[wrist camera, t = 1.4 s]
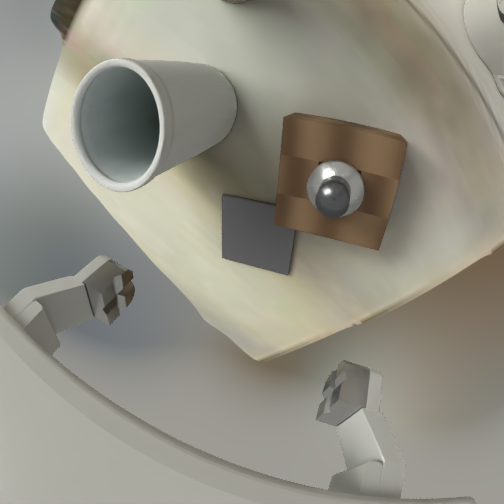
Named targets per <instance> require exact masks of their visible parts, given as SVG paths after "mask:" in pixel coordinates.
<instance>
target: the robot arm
mask: <svg viewBox="0 0 504 504" xmlns="http://www.w3.org/2000/svg"><path fill="white" fill-rule="evenodd" d="M463 15H464V23H465V27H466V31H467V34H468V36H469V39H470V41H471V43H472V45H473V47H474V48H475V50H476V52H477V53H478V55H479V56H480V58H481V59H482V60H483V62H484V63H485V64H486V65H487V67H488V68H489V69H490V71H491V72H492V74H493V77H494V80H495V82H496V85H497V87H498V90H499V91H500V93H501V94H502V95H503V96H504V0H466V1H465V4H464V11H463ZM132 279H133V272H132V271H131V270H129V269H127V268H126V267H124V266H122V265H120V264H118V263H117V262H115V261H113V260H111V259H109V258H108V257H106V256H104V255H100V256H98V257H97V258H95V259H94V260H93V261H92V262H91V263H89V264H88V265H87V266H86V267H84V268H83V269H82V270H81V271H80V272H79V273H78V274H77V275H75V276H74V277H72V276H68V277H64V278H60V279H57V280H53V281H49V282H45V283H42V284H38V285H34V286H30V287H27V288H24V289H23V290H21V291H20V292H19V293H18V294H17V295H16V296H15V297H14V298H13V299H12V300H10V301H9V302H8V303H7V304H6V305H5V306H4V307H2V306H1V305H0V504H476V502H475V500H474V499H473V498H472V497H456V498H455V497H454V498H439V499H401V498H400V497H401V492H402V486H403V480H404V473H405V462H404V460H403V458H402V455H401V453H400V451H399V448H398V446H397V444H396V441H395V439H394V437H393V435H392V432H391V430H390V428H389V426H388V424H387V421H386V419H385V417H384V414H383V413H381V412H380V401H381V389H382V372H380V371H377V370H373V369H370V368H368V367H365V366H362V365H359V364H355V363H352V362H349V361H346V360H342V361H341V362H340V363H339V364H338V368H337V370H336V371H333V372H332V373H331V374H330V375H329V377H328V379H327V381H326V383H325V386H324V389H323V393H322V394H323V397H324V399H325V400H324V401H322V402H321V403H320V405H319V409H318V413H317V417H316V420H317V421H320V422H324V423H327V424H330V425H333V426H337V427H336V429H337V433H338V436H339V440H340V444H341V447H342V451H343V455H344V458H345V463H346V466H347V470H346V471H343V472H340V473H338V474H335V475H334V476H332V479H331V482H330V486H329V489H328V490H324V489H320V488H315V487H310V486H306V485H302V484H298V483H294V482H290V481H286V480H282V479H279V478H275V477H272V476H268V475H265V474H262V473H259V472H256V471H253V470H250V469H247V468H244V467H242V466H239V465H236V464H233V463H230V462H228V461H226V460H223V459H221V458H218V457H216V456H213V455H211V454H209V453H206V452H204V451H202V450H199V449H197V448H195V447H193V446H191V445H188V444H186V443H184V442H182V441H180V440H178V439H176V438H174V437H172V436H170V435H168V434H167V433H165V432H163V431H161V430H159V429H157V428H155V427H154V426H152V425H150V424H148V423H146V422H145V421H143V420H141V419H140V418H138V417H136V416H135V415H133V414H131V413H130V412H128V411H126V410H125V409H123V408H122V407H120V406H119V405H117V404H115V403H114V402H112V401H111V400H109V399H108V398H106V397H105V396H104V395H102V394H101V393H99V392H98V391H96V390H95V389H94V388H92V387H91V386H90V385H88V384H87V383H85V382H84V381H83V380H81V379H80V378H79V377H78V376H76V375H75V374H74V373H72V372H71V371H70V370H69V369H67V368H66V367H65V366H64V365H63V364H61V363H60V362H59V361H57V359H55V358H54V357H53V356H52V355H53V353H54V352H55V351H56V350H57V349H58V348H59V347H60V341H59V339H58V338H57V336H56V334H57V333H59V332H61V331H64V330H66V329H68V328H71V327H73V326H75V325H78V324H80V323H82V322H85V321H87V320H90V319H92V318H94V317H96V318H97V319H99V320H101V321H102V322H104V323H106V324H107V325H109V326H110V325H111V324H112V323H113V322H114V321H115V320H116V318H117V317H118V316H119V315H120V309H124V308H126V307H127V306H128V305H129V304H130V303H131V301H132V299H133V297H134V293H135V287H134V285H133V283H132V281H131V280H132Z"/></svg>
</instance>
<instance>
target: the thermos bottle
mask: <svg viewBox="0 0 504 504" xmlns="http://www.w3.org/2000/svg"><path fill="white" fill-rule="evenodd" d="M222 1H225V2H228V3H241V2H245V1H248V0H222Z"/></svg>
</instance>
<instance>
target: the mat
mask: <svg viewBox="0 0 504 504" xmlns="http://www.w3.org/2000/svg"><path fill="white" fill-rule="evenodd" d="M275 208H276V204H271V203H266V202H261V201H257V200H252V199H247V198H241V197H236V196H231V195H226V194H223V195H222V258H225V259H229V260H232V261H236V262H240V263H243V264H247V265H251V266H255V267H258V268H262V269H266V270H270V271H273V272H277V273H281V274H285V275H288V274H289V268H290V262H291V256H292V250H293V243H294V237H295V229H290V228H286V227H282V226H277V225H274V218H275Z"/></svg>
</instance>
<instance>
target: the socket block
mask: <svg viewBox="0 0 504 504" xmlns="http://www.w3.org/2000/svg"><path fill="white" fill-rule="evenodd" d="M406 148H407V142H406V141H405V140H404V138H403V137H402V136H401V135H399V134H396V133H392V132H389V131H385V130H381V129H377V128H373V127H369V126H364V125H360V124H356V123H351V122H346V121H341V120H336V119H331V118H325V117H320V116H314V115H307V114H301V113H293V114H291V115H288V116H286V117H284V121H283V132H282V144H281V155H280V166H279V177H278V187H277V198H276V208H275V218H274V225H277V226H282V227H286V228H290V229H295V230H299V231H303V232H307V233H311V234H315V235H320V236H324V237H328V238H332V239H336V240H340V241H344V242H348V243H352V244H356V245H360V246H364V247H367V248H371V249H375V250H379V248H380V245H381V242H382V238H383V235H384V232H385V229H386V226H387V222H388V219H389V216H390V212H391V209H392V205H393V202H394V198H395V194H396V190H397V187H398V183H399V179H400V175H401V171H402V166H403V162H404V157H405V153H406ZM330 159H340V160H344V161H347V162H349V163H351V164H352V165H353V166H355V167H356V168H357V169H358V170H359V172H360V174H361V176H362V178H363V181H364V197H363V200H362V203H361V204H360V206H359V207H358V208H357V209H356V210H355V211H354V212H353V213H351V214H349V215H346V216H342V217H337V218H329V217H326V216H324V215H323V214H321V213H320V212H319V211H318V210H317V209H316V208H315V207H314V205H313V204H312V203H311V201H310V199H309V197H308V193H307V183H308V179H309V177H310V175H311V173H312V171H313V170H314V169H315V167H316V166H317V165H319V164H320V163H322V162H323V161H326V160H330Z"/></svg>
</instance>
